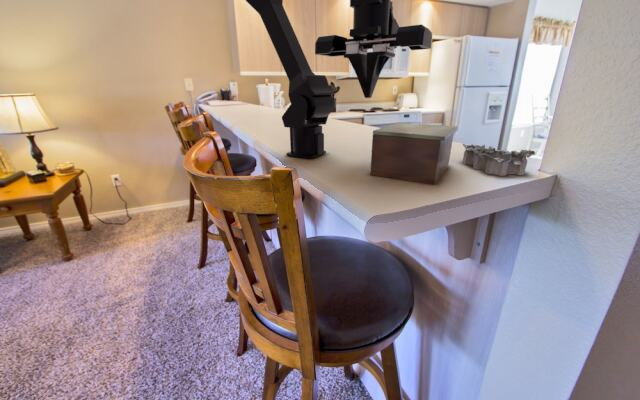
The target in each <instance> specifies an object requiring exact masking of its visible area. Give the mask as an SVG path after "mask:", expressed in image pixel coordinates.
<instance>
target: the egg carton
mask: <svg viewBox="0 0 640 400" xmlns="http://www.w3.org/2000/svg"><path fill="white" fill-rule="evenodd" d="M462 146H463V147H464V149H465V150H463V151H464V152H463V156H462V161H461V162H462V164H463V165H469V166H470V165H471V166H472V168H473V169H475V170H484V171H485V172H484V173H485V174H487V175H492V176H493V175H495V176H499V177H503V176H504V177H505V176H507V174H508V175H509V174H510V175H517V176H524V175H525V172H526V167H527V165H528V158H530V157H532V156H534V155H535V154H536V152H535V150H531V149H521V150H520V151H517V150H511V151H509V150H502V149H497V150H496V147H492V146H489V147H488V148H486V145H485V144H482V145H477V144H476V145H474V144H465V143H462Z"/></svg>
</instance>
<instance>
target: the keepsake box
mask: <svg viewBox="0 0 640 400" xmlns="http://www.w3.org/2000/svg"><path fill="white" fill-rule="evenodd" d="M454 133H455V132H454ZM454 133H453V134H452V135H450V136H449V137H448V138H447V139H446V140H444V141H442V140H431V139H420V138H408V137H397V136H385V135H374V134H372V142H371V156H370V157H371V158H370V174H369V175H370V176H376V177H383V178H389V179H395V180H401V181H402V180H403V181H409V182H415V183H420V184H428V185H435V184H436V183H437V182H438V181H439V179H440V178H441V177H442V176H443V174H444V173H445V171H446V170H447V169H448V167H449V166H450V165H449V164H450V159H451V151H452V144H453V141H454V140H453V139H454V135H455V134H454Z"/></svg>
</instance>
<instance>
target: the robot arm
mask: <svg viewBox="0 0 640 400" xmlns="http://www.w3.org/2000/svg"><path fill="white" fill-rule="evenodd" d="M283 1H284V0H245V2H246V3H247V4H248V5H249V6H250V7H251V8H252V9H253V10H254V11H256V13H257V14H258V15H259V16H260V18H261V21H262V23H263V25H264V28H265V30H266V32H267V35H268V37H269V39H270V41H271V42H272V46H273V47H274V50H275V51H276V55H277V56H278V59H279V62H280V63H281V65H282V68H283V70H284V72H285V74H286V77H287V79H288V93H287V94H288V98H289V102H290V105H289V106H288V107H287V109H286V110H285V112H284V113H283V114H282V116H281V120H282V123H283V127H284V128H288V129H289V143H290V145H289V146H290V151H288V152H285V153H286V154H285V155H286V156H288V157H295V158H301V159H302V158H303V159H309V160H310V159H314V158H317V157H319V156H322V155H325V154H326V153H327V150H325V134H324V133H323V125H327V122H328V120H329V119H328V118H329V116H330V114H331V113H332V110H333V108H334V105H335V101H334V98H333V95H335V93H334V91H333V90H332V89H331V87H330V85H329V82H328V78H327V77H326V75H323V74H322V75H321V74H315V72H313V70H312V69H311V67H310V64H309V62H308V60H307V57H306V55H305V53H304V50H303V49H302V46H301V44H300V41H299V39H298V37H297V35H296V32H295V30H294V28H293V26H292V23H291V20H290V19H289V16H288V14H287V12H286V9H285V7H284V5H283V3H284V2H283ZM349 7H350V8H351V9H353V17H352V18H353V19H352V20H353V23H352V24H353V26H352V28H350V29H349V37H350V38H348V37H345V36H341V35H337V34H332V35H322V36H318V37H317V39H316V41H315V42H314V55H316V56H324V57H343V58H344V59H347V60H348V61H349V62H350V65H351V66H352V69H353V71H354V73H355V75H356V78H357V81H358V83H359V86H360V89H361V91H362V94H363V96H364V98H365V99H371V98H372V97H373V94H374V91H375V89H376V86H377V83H378V80H379V78H380V75H381V73H382V71H383V69H384V67H385V65H386V63H387V62H388V61H389V60H390V59H392V58H395V57H396V53H395V49H397V48H398V47H400V48H405V47H407V48H409V49H410V50H411V51H421V50H430V49H432V41H433V32H432V31H431V29H430V28H428V27H426V26H425V25H424V24H413V25H407V26H405V25H404V26H400V25H399V23H398V22H397V19H396V18H395V17H394V13H393V11H394V10H393V9H394V6H393V1H391V0H349ZM369 50H372V51H369Z"/></svg>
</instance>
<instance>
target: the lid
mask: <svg viewBox="0 0 640 400" xmlns="http://www.w3.org/2000/svg"><path fill="white" fill-rule="evenodd" d="M458 128H459V126H456V125H443V124H426V123H412V122H411V123H408V122H395V123H392V124H389V125H386V126H383V127H381V128H377V129H374V130H373V131H372V135H385V136H397V137H408V138H420V139H431V140H442V141H444V140H446V139H447V138H448V137H449V136H450V135H452V134H453V133H456V132H457V131H458ZM453 135H454V134H453Z"/></svg>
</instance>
